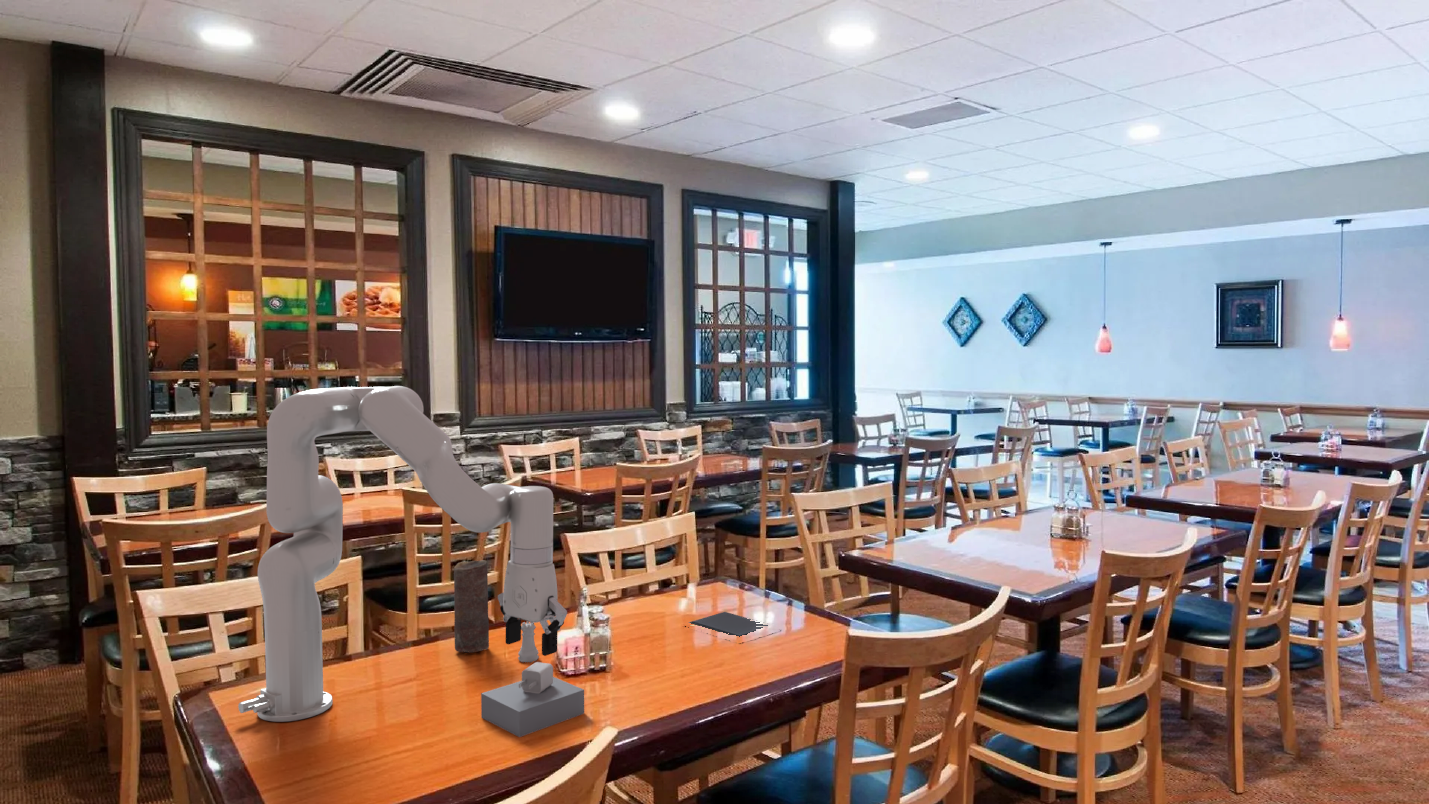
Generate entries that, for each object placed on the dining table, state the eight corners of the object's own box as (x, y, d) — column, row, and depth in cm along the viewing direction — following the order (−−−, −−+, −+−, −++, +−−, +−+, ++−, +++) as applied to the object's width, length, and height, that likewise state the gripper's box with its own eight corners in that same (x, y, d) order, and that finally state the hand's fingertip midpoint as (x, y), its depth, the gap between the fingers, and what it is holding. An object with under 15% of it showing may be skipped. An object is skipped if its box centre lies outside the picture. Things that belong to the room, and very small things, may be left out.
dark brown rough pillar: (483, 657, 193) (482, 566, 192) (449, 657, 193) (448, 566, 192) (493, 646, 200) (491, 558, 199) (460, 645, 201) (459, 558, 200)
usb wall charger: (553, 685, 165) (552, 664, 164) (534, 699, 158) (533, 677, 158) (534, 682, 166) (533, 661, 166) (514, 696, 159) (513, 674, 159)
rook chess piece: (530, 654, 195) (529, 618, 194) (543, 659, 192) (543, 622, 191) (513, 660, 191) (513, 623, 191) (526, 664, 188) (526, 627, 188)
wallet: (783, 625, 212) (737, 639, 201) (783, 633, 212) (737, 647, 201) (725, 608, 226) (680, 620, 216) (725, 615, 226) (680, 628, 216)
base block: (519, 740, 153) (519, 711, 152) (481, 720, 161) (481, 693, 161) (584, 716, 163) (584, 689, 163) (545, 698, 171) (545, 673, 171)
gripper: (484, 551, 163) (483, 643, 164) (549, 566, 153) (548, 664, 154) (516, 545, 169) (515, 633, 170) (580, 558, 159) (579, 652, 160)
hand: (531, 647), depth 162 cm, fingers open, 9 cm apart
